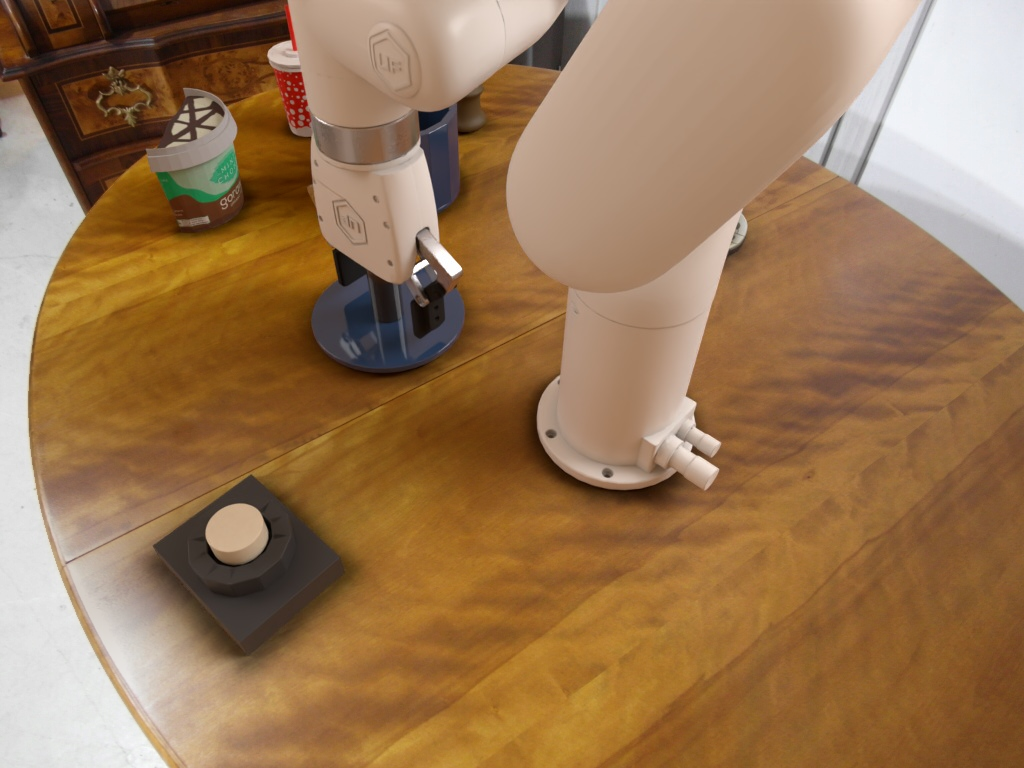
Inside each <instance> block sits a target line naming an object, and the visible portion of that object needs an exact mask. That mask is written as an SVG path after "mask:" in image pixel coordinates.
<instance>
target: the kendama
mask: <svg viewBox="0 0 1024 768" xmlns="http://www.w3.org/2000/svg"><path fill="white" fill-rule="evenodd" d="M484 91H485V87H484V85H483V83H482V84H481V85H479V86H478V87H477V88H475V89H474V90H473V91H472V92H470V93H469V94H468V95H466V96H465V97H464V98H462V99H461V100H460V101H458V102H457V118H458V133H472V132H475V131H478V130H480V129H481V128H483V127H484V126H485V125H486V124H487V122H488V118H487V117H488V116H487V115H486V113H485V112H484V110H483V109H482V105H481V95H482V94H483V92H484Z"/></svg>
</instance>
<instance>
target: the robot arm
mask: <svg viewBox="0 0 1024 768" xmlns="http://www.w3.org/2000/svg"><path fill="white" fill-rule="evenodd" d="M569 1H570V0H287V4H288V5H289V10H290V15H291V20H292V25H293V30H294V35H295V41H296V46H297V51H298V56H299V61H300V66H301V71H302V76H303V81H304V86H305V91H306V97H307V102H308V107H309V112H310V117H311V122H312V127H313V133H312V137H310V138H311V140H310V167H311V168H310V169H311V170H310V171H311V179H312V184H309V185H308V186H306V190H307V193H308V195H309V197H310V199H311V201H312V203H313V205H314V207H315V209H316V218H317V220H318V224H319V229H320V232H321V235H322V237H323V239H325V241H326V243H327V245H328V246H330V248H333V249H332V250H331V252H332V257H333V262H334V266H335V272H336V277H337V280H338V282H339V284H340V285H342V286H344V287H345V286H348V285H350V284H351V283H353V282H355V281H356V280H358V279H359V278H361V277H363V276H364V275H366V269H368V270H369V271H371V272H372V273H374V274H375V275H377V276H379V277H380V278H382V279H384V280H385V281H387V282H390V283H393V284H398V285H399V284H402V283H404V282H405V283H406V285H407V287H408V288H409V290H410V292H411V294H412V295H413V297H414V299H413V300H412V301H411V302H410V307H411V316H412V325H413V333H414V336H416V337H417V338H419V339H421V338H423V337H424V336H426V335H427V334H428V333H430V332H431V331H433V330H435V329H437V328H438V327H439V326H440V325H441V324H442V323H443V322H444V321H445V307H444V296H445V295H446V294H447V293H449V292H450V291H452V290H453V289H455V288H456V289H457V287H458V284H459V283H460V281H461V279H462V277H463V276H464V271H463V270H464V269H463V268H462V267H461V265H460V264H459V263H458V262H457V261H456V260H455V258H454V257H453V256H452V255H451V253H449V251H448V250H447V249H446V248H445V247H444V246H443V245H442V244H441V242H440V229H439V220H438V219H439V218H438V214H437V211H436V204H435V199H434V193H433V188H432V183H431V178H430V174H429V170H428V166H427V162H426V158H425V155H424V151H423V149H422V148H421V147H420V129H419V117H418V111H424V112H433V111H439V110H442V109H445V108H448V107H450V106H452V105H453V104H455V103H456V102H458V101H460V100H461V99H462V98H464V97H465V96H466V95H468V94H469V93H470V92H472V91H473V90H474V89H475V88H477V87H478V86H479V85H481V84H482V85H483V83H485V82H486V81H487V80H488V79H490V78H491V77H492V76H494V74H496V73H497V72H498V71H500V70H501V69H503V67H505V66H506V65H508V64H509V63H510V62H512V61H513V60H515V59H516V58H517V57H518V56H520V55H521V54H523V53H524V52H526V51H528V49H529V48H530V47H532V46H533V45H535V44H536V43H537V42H538V41H539V40H540V39H541V38H542V37H543V36H544V35H545V34H546V33H547V32H548V31H549V29H550V28H551V27H552V26H553V25H554V23H555V22H556V20H557V19H558V17H559V16H560V14H561V13H562V12H563V10H564V9H565V7H566V5H568V3H569ZM922 1H923V0H607V1H606V3H605V5H604V6H603V7H602V9H601V11H600V12H599V13H598V15H597V17H596V18H595V20H594V21H593V23H592V24H591V26H590V28H589V29H588V31H587V32H586V34H585V35H584V36H583V38H582V40H581V42H580V43H579V45H578V46H577V47H576V49H575V51H574V52H573V54H572V55H571V57H570V58H569V60H568V61H567V63H566V65H565V66H564V67H563V68H562V71H561V72H560V74H559V75H558V77H557V79H556V80H555V82H554V83H553V85H552V86H551V87H550V88H549V91H548V92H547V93H546V95H545V97H544V98H543V100H542V101H541V103H540V105H539V106H538V108H537V109H536V111H535V112H534V114H533V115H532V117H531V118H530V120H529V122H528V123H527V124H526V125H525V128H524V130H523V131H522V133H521V135H520V137H519V139H518V141H517V143H516V145H515V147H514V149H513V152H512V154H511V158H510V161H509V164H508V169H507V173H506V174H507V175H506V184H505V191H506V192H505V197H506V207H507V208H506V209H507V213H508V218H509V221H510V225H511V227H512V232H513V233H514V235H515V238H516V240H517V242H518V244H519V246H520V247H521V249H522V251H523V252H524V253H525V255H526V257H527V258H528V259H529V260H530V261H531V263H532V264H533V265H534V266H535V267H536V268H537V269H538V270H540V271H541V272H542V273H543V274H545V275H546V276H547V277H548V278H550V279H552V280H553V281H555V282H557V283H559V284H561V285H564V286H565V287H568V289H567V300H566V312H565V322H564V332H563V343H562V354H561V361H560V362H561V363H560V373H559V375H557V376H556V377H554V379H553V380H552V381H551V382H550V383H549V384H548V385H547V387H546V388H545V389H544V391H543V393H542V394H541V397H540V398H539V399H540V400H539V402H538V405H537V413H536V430H537V435H538V438H539V441H540V444H541V445H542V447H543V449H544V451H545V453H546V454H547V455H548V456H549V458H550V459H551V461H553V463H554V464H555V465H557V466H558V467H559V468H560V469H561V470H563V472H565V473H567V475H569V476H571V477H572V478H575V479H576V480H578V481H581V482H583V483H586V484H588V485H590V486H593V487H597V488H603V489H606V490H617V491H629V490H630V491H631V490H640V489H644V488H647V487H651V486H654V485H657V484H659V483H661V482H663V481H666V480H667V479H669V478H670V477H672V476H673V475H674V474H675V473H679V474H681V475H682V476H683V478H685V479H686V480H687V481H689V482H690V483H692V484H693V485H695V486H696V487H698V488H699V489H701V490H702V491H704V492H705V491H707V490H708V489H709V488H710V486H712V484H713V483H714V481H715V479H716V478H717V476H718V474H719V472H720V468H718V466H716V465H714V464H713V463H711V462H709V461H708V460H706V459H705V458H703V457H702V456H700V455H696V454H695V453H693V452H692V449H693V447H695V448H696V450H698V451H700V452H701V453H703V455H706V456H707V457H708V458H710V459H712V458H714V457H715V455H716V454H717V453H718V451H719V450H720V448H721V445H722V442H721V441H719V440H717V438H714V437H713V436H711V435H709V434H708V433H705V432H703V431H702V430H701V429H698V428H697V423H696V419H695V414H694V413H695V411H696V407H697V401H694V400H693V399H692V398H690V397H689V396H687V393H688V389H689V386H690V382H691V379H692V375H693V371H694V368H695V364H696V361H697V358H698V354H699V350H700V347H701V344H702V340H703V337H704V333H705V329H706V325H707V323H708V319H709V315H710V312H711V308H712V305H713V301H714V299H715V297H716V293H717V290H718V287H719V284H720V280H721V276H722V273H723V269H724V266H725V263H726V259H727V257H728V256H727V253H728V250H729V247H730V244H731V241H732V238H733V235H734V232H735V229H736V226H737V224H738V221H739V218H740V215H741V213H742V214H743V210H744V208H745V207H746V206H747V205H748V204H750V202H752V201H753V200H754V199H756V197H757V196H759V195H760V194H761V193H762V192H763V191H764V190H766V189H767V188H768V187H769V186H770V185H771V184H772V183H774V182H775V181H776V180H777V179H779V177H780V176H781V175H783V174H784V173H785V172H786V171H787V170H788V169H789V168H791V166H793V165H794V164H795V163H797V162H798V161H799V159H800V158H802V157H803V156H804V155H805V154H807V152H808V151H809V150H810V149H811V148H813V147H814V146H815V144H816V143H818V142H819V141H820V140H821V138H823V137H824V136H825V134H826V133H827V132H828V131H829V130H830V129H831V128H833V126H834V125H835V124H836V123H837V122H838V121H839V119H840V118H841V117H842V116H843V115H844V114H845V113H846V112H847V111H848V110H849V109H850V107H851V106H852V105H853V104H854V103H855V101H856V100H857V99H858V98H859V96H860V95H861V94H862V92H863V91H864V90H865V88H866V87H867V86H868V85H869V83H870V82H871V80H872V79H873V77H874V76H875V75H876V73H877V72H878V70H879V69H880V67H881V65H882V64H883V63H884V61H885V59H886V57H887V56H888V55H889V53H890V52H891V50H892V49H893V47H894V45H895V43H896V42H897V40H898V39H899V38H900V36H901V34H902V33H903V31H904V29H905V28H906V27H907V25H908V23H909V22H910V20H911V18H912V17H913V16H914V14H915V12H916V11H917V9H918V8H919V6H920V4H921V3H922ZM418 256H419V258H420V259H419V260H418V261H417V258H418ZM726 256H727V257H726ZM365 268H366V269H365ZM424 268H425V270H426V272H427V274H428V275H429V277H430V279H431V281H432V283H430V284H429V285H427V286H426V287H424V288H423V287H422V285H421V283H420V282H419V280H418V278H417V277H416V275H415V274H416V273H418V272H419V271H421V270H422V269H424Z"/></svg>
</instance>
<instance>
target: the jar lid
mask: <svg viewBox="0 0 1024 768" xmlns="http://www.w3.org/2000/svg"><path fill="white" fill-rule="evenodd" d="M365 269H366V268H365ZM415 275H416V277H417V278H418V280H419V282H420V283H421V285H422V287H423V288H424V287H426V286H427V285H429V284H430V283H432V281H431V279H430V277H429V275H428V274H427V272H426V270H425V268H424V269H422V270H421V271H419V272H418V273H416V274H415ZM413 299H414V297H413V295H412V294H411V292H410V290H409V288H408V287H407V285H406V283H405V282H404V283H402V284H399V285H398V284H393V283H390V282H387V281H385V280H384V279H382V278H380V277H379V276H377V275H375V274H374V273H372V272H371V271H369V270H368V269H366V275H364V276H363V277H361V278H359V279H358V280H356V281H355V282H353V283H351V284H350V285H348V286H345V287H344V286H342V285H340V284H339V282H338V279H337V280H335V281H334V282H332V283H331V284H330V285H329V286H328V287H327V288H325V289H324V291H322V293H321V294H320V295H319V297H318V299H317V300H316V301H315V303H314V306H313V309H312V312H311V320H310V323H311V329H312V333H313V337H314V340H315V341H316V343H317V346H319V348H320V349H321V350H322V352H323V353H325V354H326V356H328V357H329V358H330V359H332V360H333V361H335V362H336V363H338V364H340V365H342V366H344V367H347V368H349V369H353V370H356V371H360V372H366V373H374V374H375V373H377V374H388V373H398V372H403V371H404V372H405V371H408V370H412V369H416V368H419V367H421V366H424V365H426V364H429V363H430V362H432V361H434V360H436V359H437V358H439V357H441V356H442V355H443V354H444V353H446V352H448V350H449V349H450V348H451V347H453V345H454V344H455V343H456V342H457V340H458V339H459V337H460V336H461V333H462V331H463V329H464V325H465V319H466V310H465V302H464V300H463V297H462V295H461V293H460V291H459V290H458V288H457V287H456V288H455V289H453V290H452V291H450V292H449V293H447V294H446V295H445V296H444V307H445V321H444V322H443V323H442V324H441V325H440V326H439V327H438V328H437V329H435V330H433V331H431V332H430V333H428V334H427V335H426V336H424V337H423V338H421V339H419V338H417V337H416V336H414V333H413V325H412V316H411V307H410V302H411V301H412V300H413Z"/></svg>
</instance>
